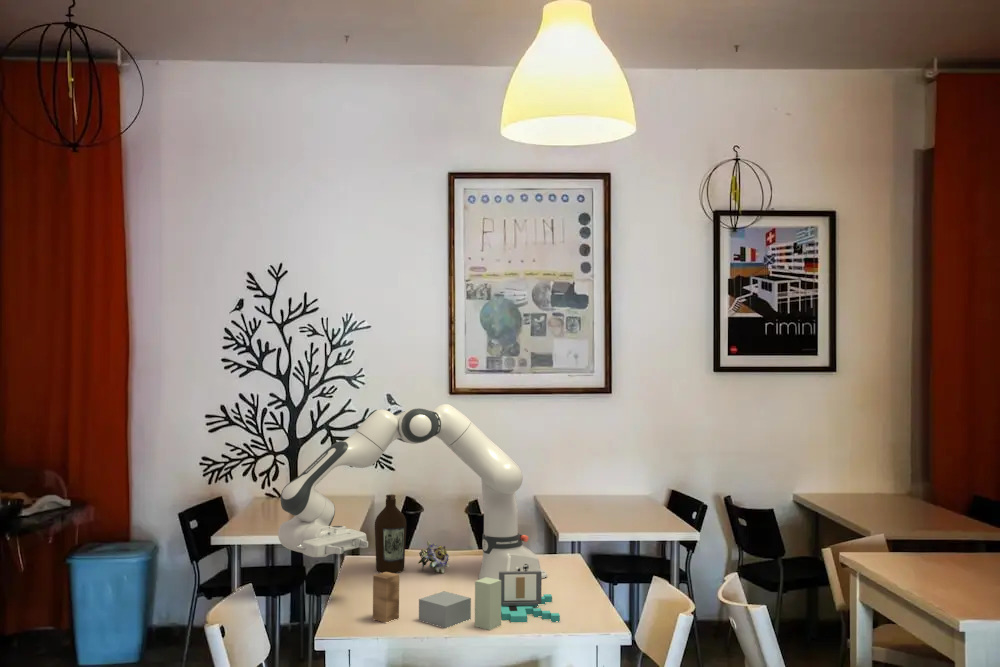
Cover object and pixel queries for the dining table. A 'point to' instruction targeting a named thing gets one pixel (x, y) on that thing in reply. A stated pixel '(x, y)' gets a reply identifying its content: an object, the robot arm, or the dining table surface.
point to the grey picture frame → (520, 588)
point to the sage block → (487, 603)
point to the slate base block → (444, 609)
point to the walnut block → (385, 596)
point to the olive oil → (390, 538)
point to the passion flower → (435, 557)
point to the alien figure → (528, 611)
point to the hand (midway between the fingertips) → (354, 547)
